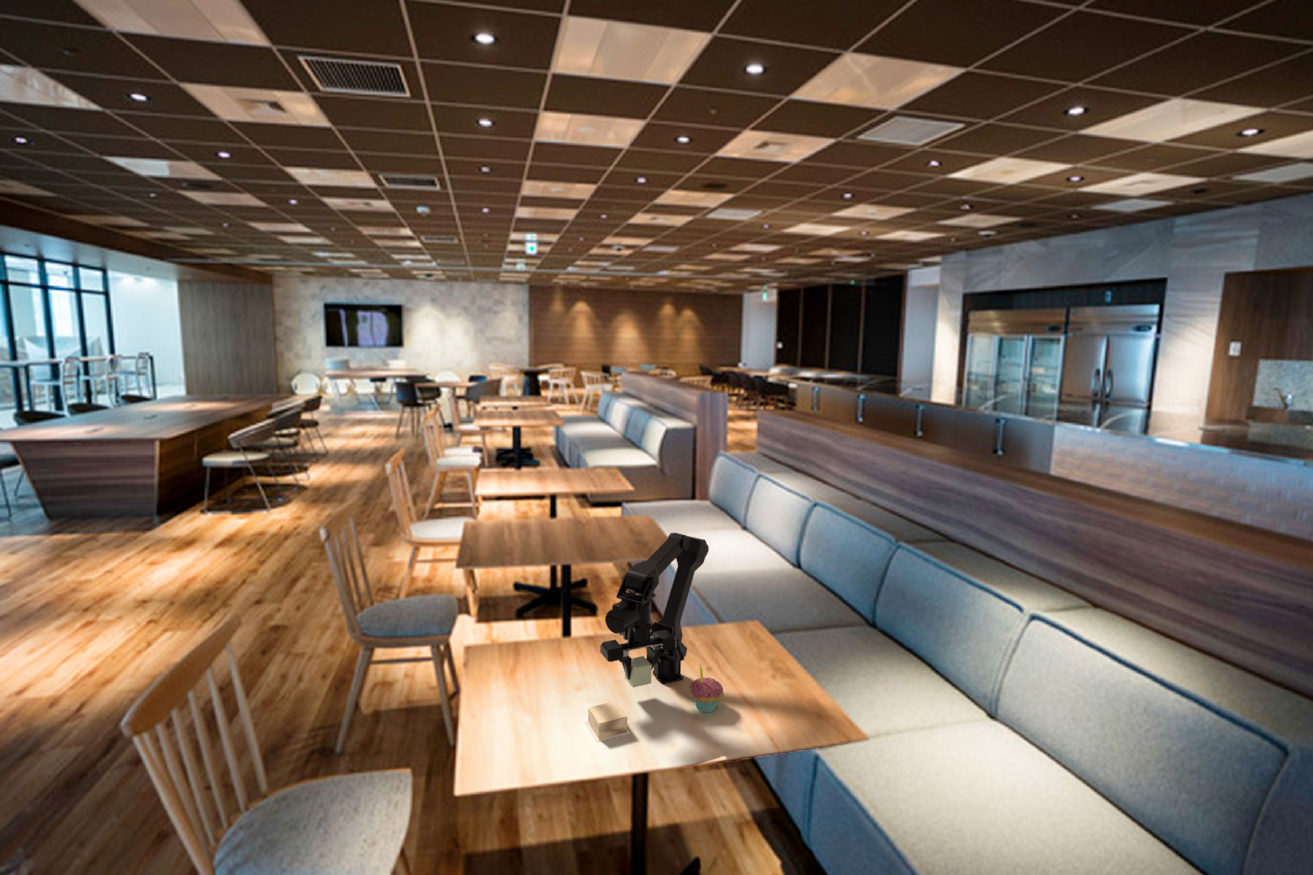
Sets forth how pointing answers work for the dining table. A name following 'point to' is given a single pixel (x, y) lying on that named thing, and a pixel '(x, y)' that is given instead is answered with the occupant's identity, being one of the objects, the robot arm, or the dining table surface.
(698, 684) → the cupcake
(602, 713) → the maple block
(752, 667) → the dining table surface
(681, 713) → the dining table surface
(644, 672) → the green cube
